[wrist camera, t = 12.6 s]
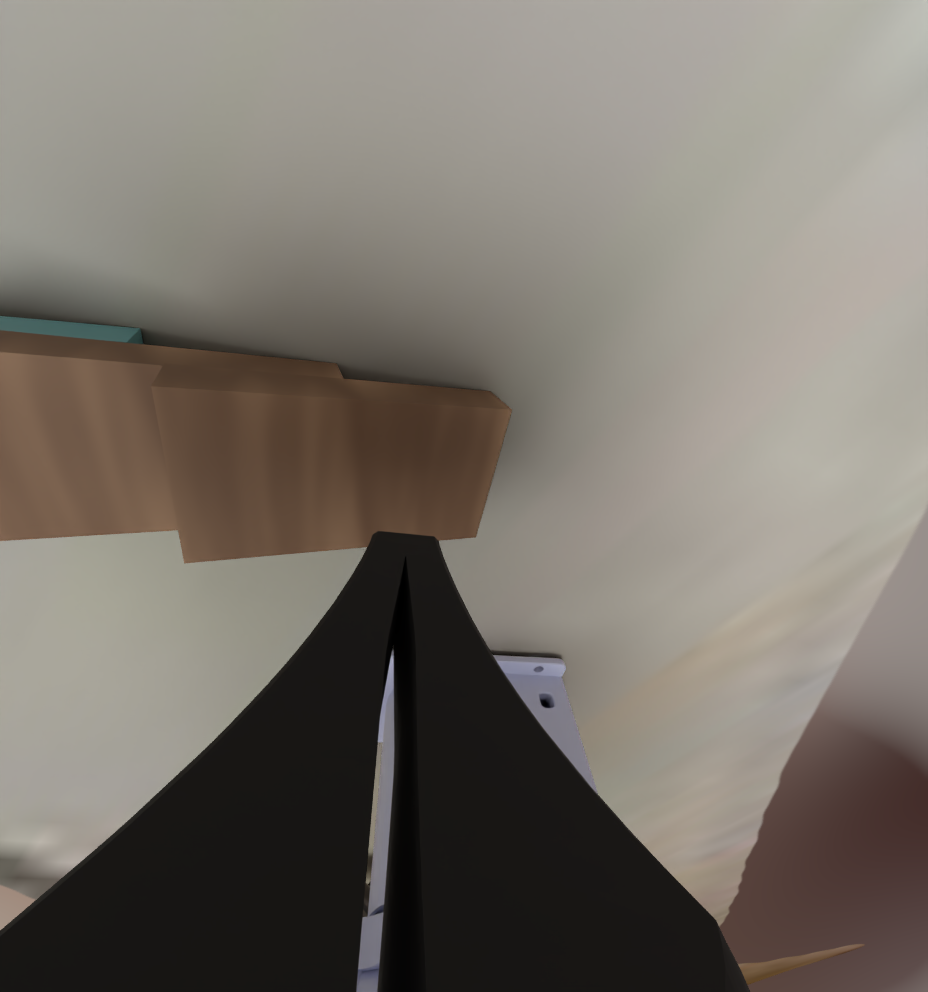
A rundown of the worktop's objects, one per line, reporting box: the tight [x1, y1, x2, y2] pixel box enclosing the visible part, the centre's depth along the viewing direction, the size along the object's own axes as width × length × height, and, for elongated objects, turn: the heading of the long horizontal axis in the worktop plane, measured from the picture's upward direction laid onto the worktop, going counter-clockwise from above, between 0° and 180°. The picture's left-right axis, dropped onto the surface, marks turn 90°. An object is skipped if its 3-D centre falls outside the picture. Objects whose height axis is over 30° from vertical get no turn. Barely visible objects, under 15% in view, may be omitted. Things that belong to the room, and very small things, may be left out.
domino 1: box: [0, 330, 344, 541], centre depth 12 cm, size 2×5×9 cm
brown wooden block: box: [151, 363, 512, 563], centre depth 12 cm, size 2×5×9 cm
